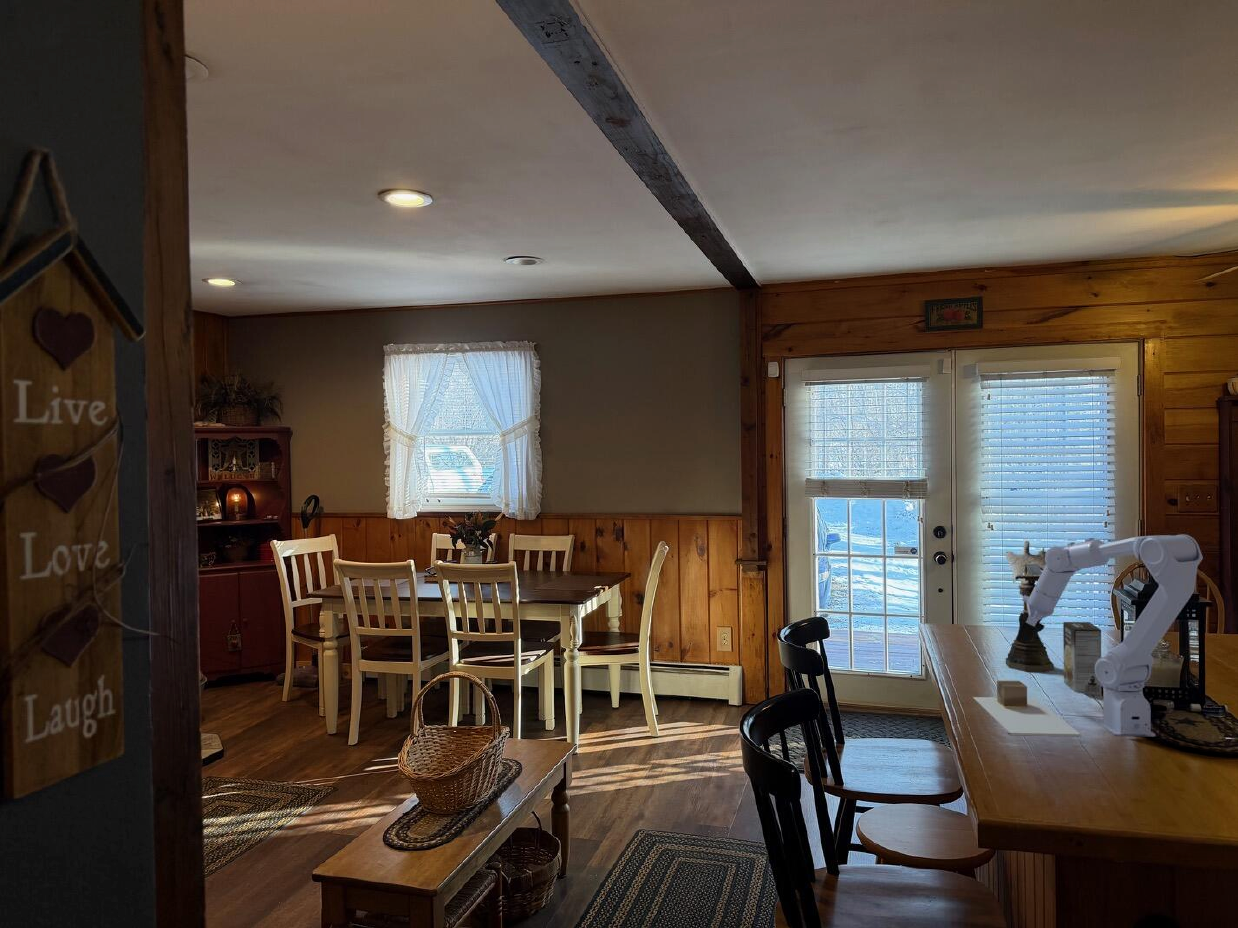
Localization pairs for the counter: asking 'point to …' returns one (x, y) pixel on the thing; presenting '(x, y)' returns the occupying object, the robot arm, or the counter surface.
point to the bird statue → (1033, 651)
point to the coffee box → (1081, 656)
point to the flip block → (1012, 694)
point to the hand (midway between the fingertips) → (1025, 634)
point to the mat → (1028, 719)
